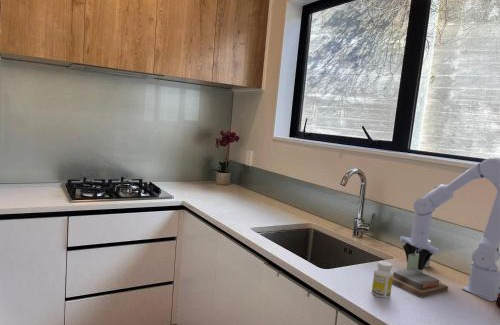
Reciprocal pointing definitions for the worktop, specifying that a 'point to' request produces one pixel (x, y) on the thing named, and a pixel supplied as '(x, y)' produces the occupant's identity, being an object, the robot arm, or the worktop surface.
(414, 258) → the green block
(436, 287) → the stepped stand
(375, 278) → the supplement bottle
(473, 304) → the worktop surface
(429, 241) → the pill bottle
